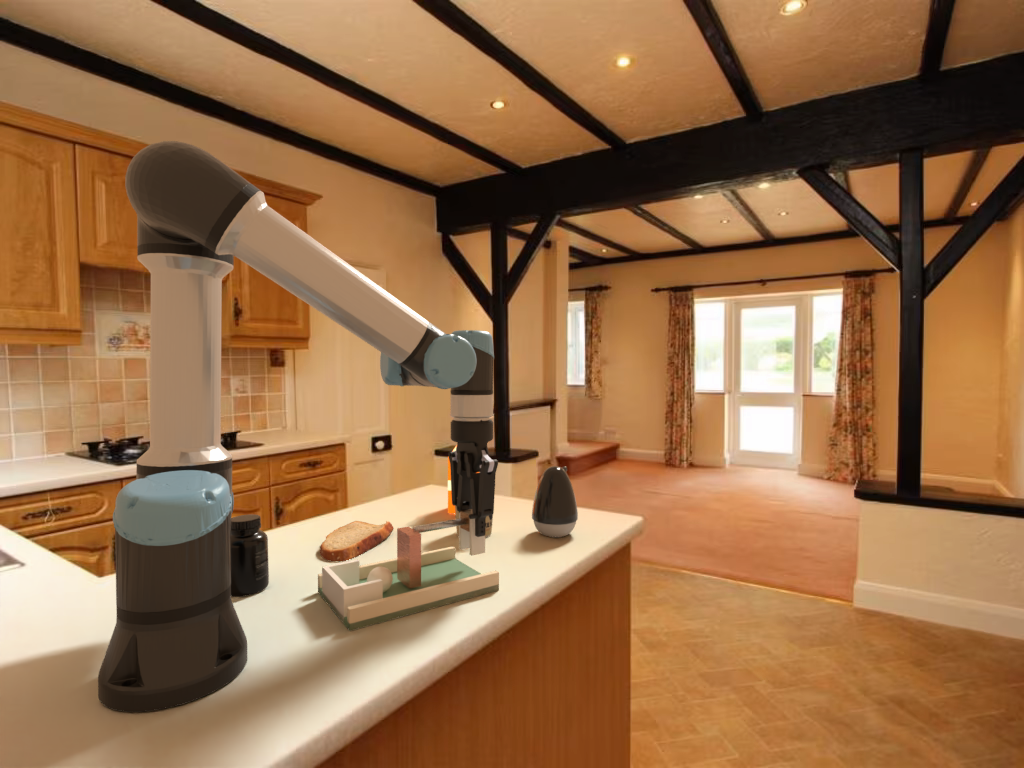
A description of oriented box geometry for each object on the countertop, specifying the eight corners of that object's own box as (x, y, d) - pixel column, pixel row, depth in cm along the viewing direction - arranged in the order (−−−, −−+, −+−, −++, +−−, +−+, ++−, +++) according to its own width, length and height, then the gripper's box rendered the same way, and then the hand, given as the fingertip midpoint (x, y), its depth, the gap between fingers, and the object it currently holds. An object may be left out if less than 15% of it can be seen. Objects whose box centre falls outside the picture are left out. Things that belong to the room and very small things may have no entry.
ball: (372, 599, 84) (372, 573, 84) (363, 590, 87) (363, 566, 87) (396, 593, 86) (396, 568, 86) (387, 585, 90) (387, 561, 90)
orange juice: (447, 513, 138) (447, 435, 138) (456, 505, 147) (456, 431, 146) (477, 515, 137) (477, 436, 136) (484, 506, 146) (485, 432, 145)
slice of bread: (329, 566, 102) (329, 546, 102) (304, 541, 117) (303, 524, 117) (417, 548, 112) (416, 530, 112) (383, 527, 127) (383, 511, 127)
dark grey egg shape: (585, 531, 123) (586, 464, 123) (564, 544, 114) (565, 472, 114) (546, 524, 129) (546, 460, 128) (523, 536, 120) (523, 467, 120)
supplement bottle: (259, 578, 95) (259, 510, 95) (275, 589, 90) (274, 517, 90) (217, 589, 90) (216, 517, 90) (230, 601, 85) (229, 526, 85)
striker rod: (409, 588, 87) (409, 526, 87) (397, 578, 91) (397, 519, 91) (486, 569, 95) (486, 513, 95) (471, 561, 99) (472, 507, 99)
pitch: (349, 630, 76) (349, 595, 76) (318, 592, 89) (317, 562, 89) (498, 590, 90) (499, 560, 90) (452, 562, 103) (452, 536, 103)
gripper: (515, 421, 91) (515, 559, 92) (467, 414, 105) (467, 535, 105) (477, 423, 87) (477, 568, 88) (432, 416, 100) (432, 542, 101)
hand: (471, 550), depth 96 cm, fingers closed on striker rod, 3 cm apart
